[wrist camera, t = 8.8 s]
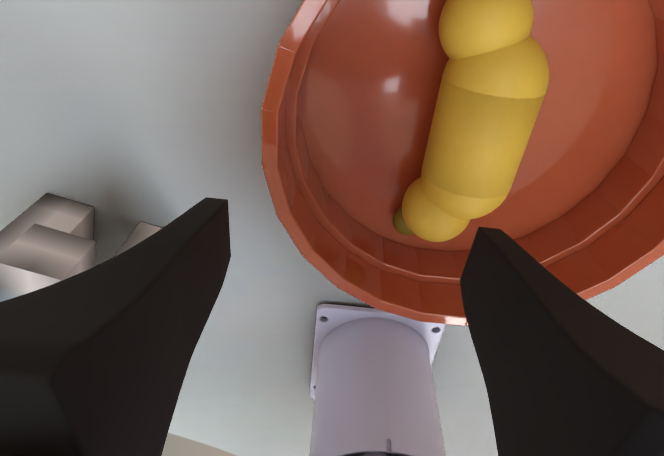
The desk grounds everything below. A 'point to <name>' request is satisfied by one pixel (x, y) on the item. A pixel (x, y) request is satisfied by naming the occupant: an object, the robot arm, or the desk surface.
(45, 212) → the toy llama
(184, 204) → the desk surface
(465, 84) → the banana
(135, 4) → the desk surface
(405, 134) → the bowl
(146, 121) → the desk surface
